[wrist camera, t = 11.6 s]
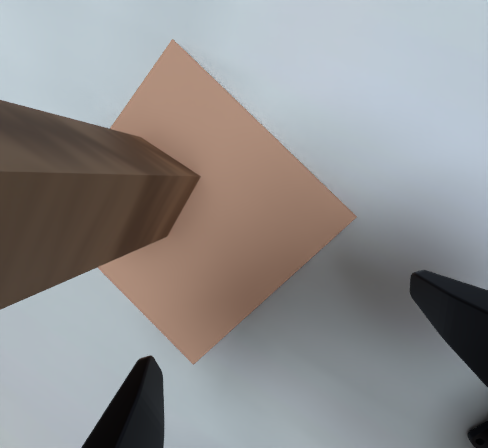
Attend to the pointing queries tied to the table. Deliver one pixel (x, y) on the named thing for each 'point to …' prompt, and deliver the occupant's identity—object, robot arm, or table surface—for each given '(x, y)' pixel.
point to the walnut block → (77, 198)
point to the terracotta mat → (219, 209)
